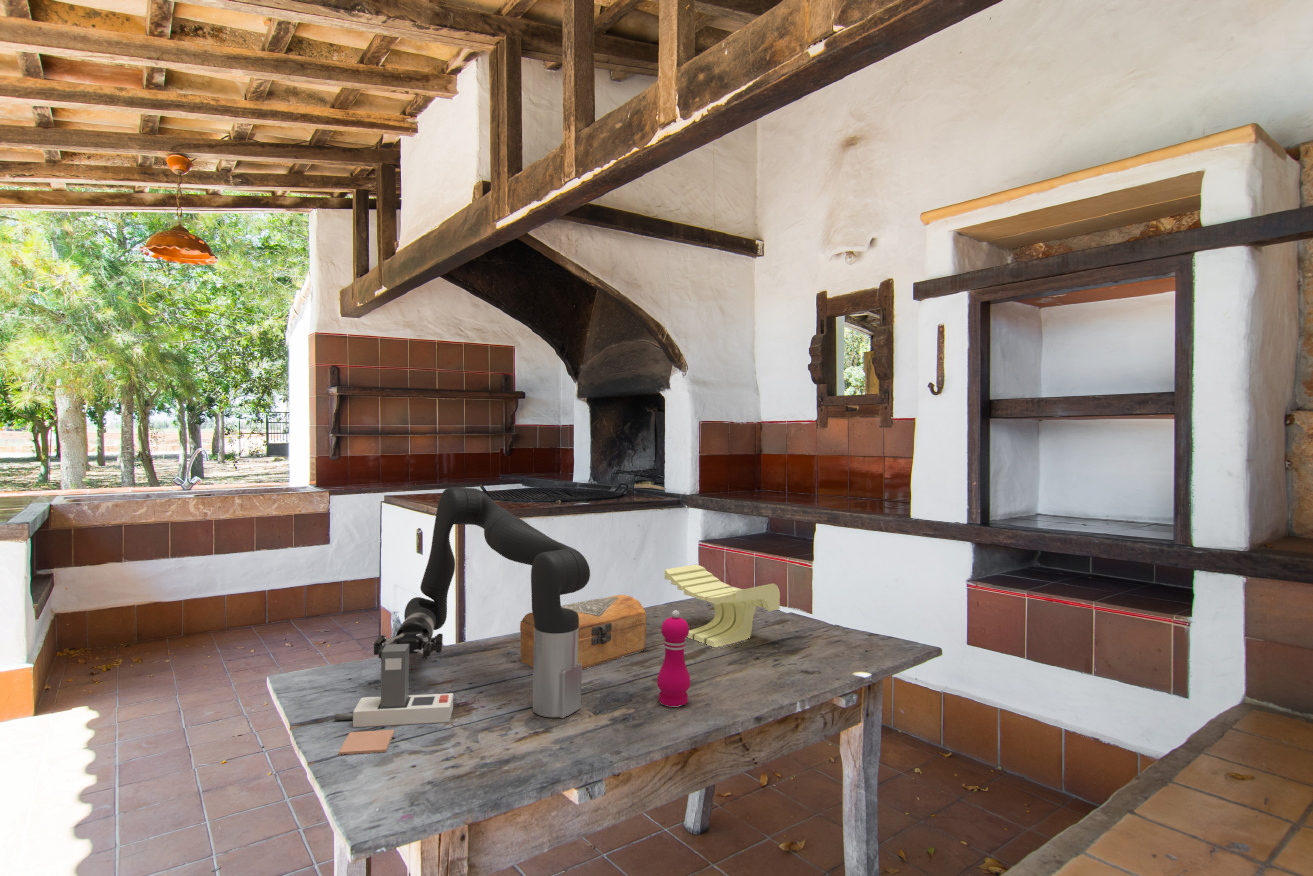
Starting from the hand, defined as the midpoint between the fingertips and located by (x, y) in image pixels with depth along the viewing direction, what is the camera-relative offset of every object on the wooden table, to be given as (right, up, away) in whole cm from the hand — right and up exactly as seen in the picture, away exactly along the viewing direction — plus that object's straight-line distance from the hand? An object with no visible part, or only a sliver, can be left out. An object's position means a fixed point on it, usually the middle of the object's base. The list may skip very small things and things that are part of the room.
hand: (403, 655), depth 147 cm
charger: (+2, -8, -9) cm, 12 cm away
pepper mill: (+58, -11, +2) cm, 59 cm away
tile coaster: (+1, -10, -20) cm, 22 cm away
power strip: (+1, -10, -9) cm, 13 cm away
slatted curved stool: (+72, -11, +48) cm, 87 cm away
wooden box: (+36, -10, +30) cm, 48 cm away
